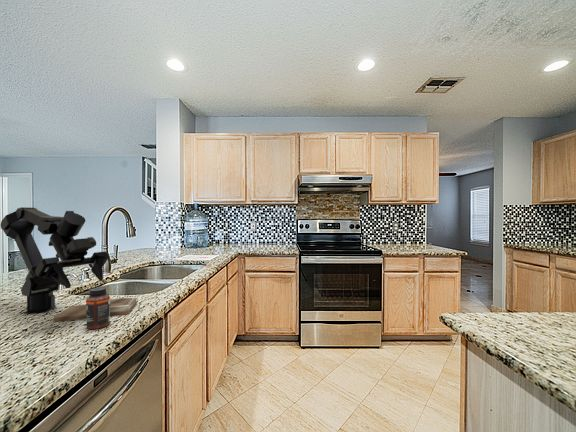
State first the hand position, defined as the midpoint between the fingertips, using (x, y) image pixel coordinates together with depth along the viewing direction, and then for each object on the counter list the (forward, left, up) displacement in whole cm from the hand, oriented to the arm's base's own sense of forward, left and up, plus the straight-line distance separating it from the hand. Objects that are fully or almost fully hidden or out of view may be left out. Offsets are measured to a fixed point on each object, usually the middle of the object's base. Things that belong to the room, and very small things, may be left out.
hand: (86, 283), depth 86 cm
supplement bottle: (+4, -4, -12) cm, 14 cm away
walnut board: (0, +10, -12) cm, 16 cm away
